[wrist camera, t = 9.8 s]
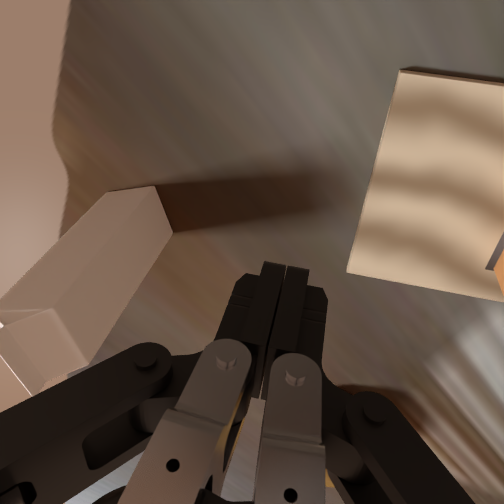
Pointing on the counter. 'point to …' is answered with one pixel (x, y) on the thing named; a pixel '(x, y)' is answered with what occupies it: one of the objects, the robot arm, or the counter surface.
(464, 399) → the counter surface
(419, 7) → the counter surface
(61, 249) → the milk
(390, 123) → the push board
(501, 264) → the t block
